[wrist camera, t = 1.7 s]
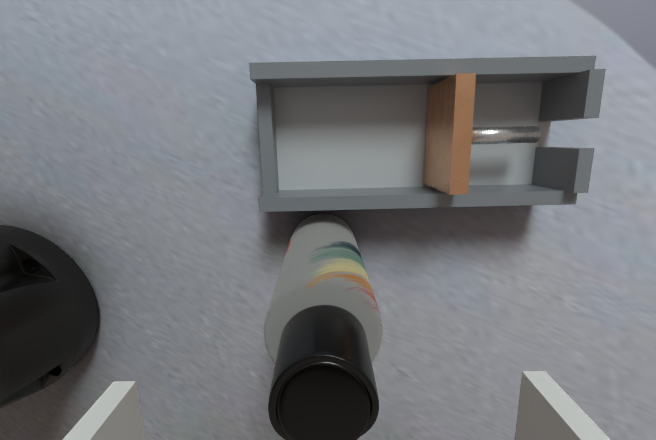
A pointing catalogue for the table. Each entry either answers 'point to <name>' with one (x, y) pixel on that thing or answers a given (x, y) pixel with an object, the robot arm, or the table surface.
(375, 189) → the tray
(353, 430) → the lotion bottle
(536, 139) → the pusher
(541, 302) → the table surface
